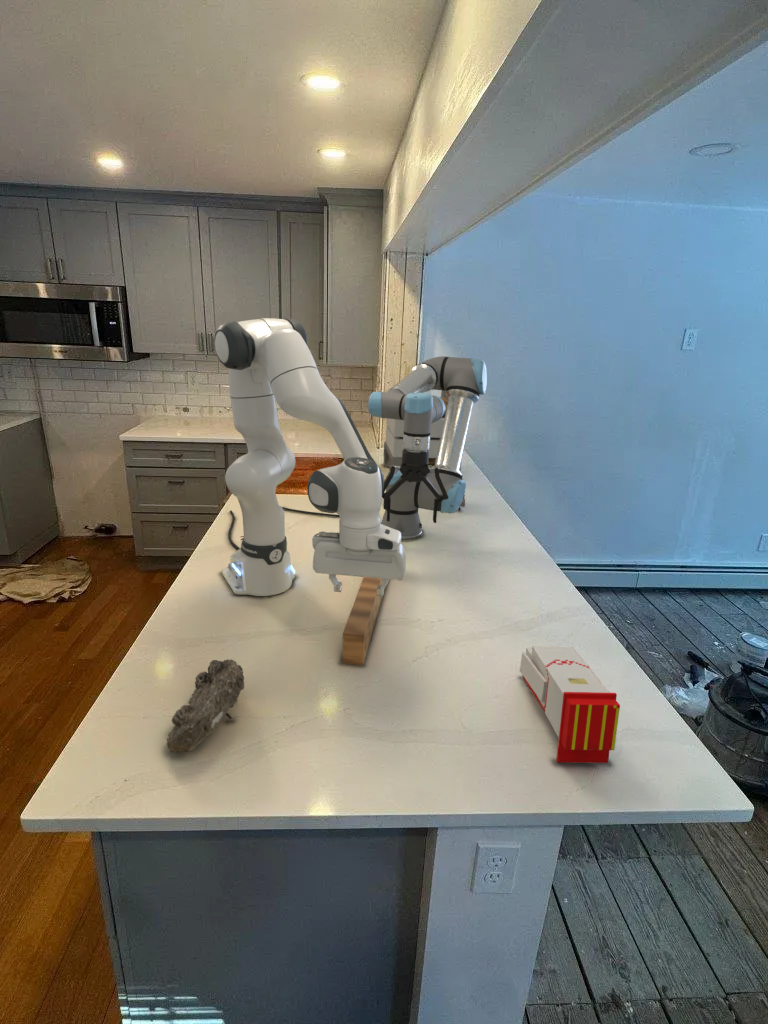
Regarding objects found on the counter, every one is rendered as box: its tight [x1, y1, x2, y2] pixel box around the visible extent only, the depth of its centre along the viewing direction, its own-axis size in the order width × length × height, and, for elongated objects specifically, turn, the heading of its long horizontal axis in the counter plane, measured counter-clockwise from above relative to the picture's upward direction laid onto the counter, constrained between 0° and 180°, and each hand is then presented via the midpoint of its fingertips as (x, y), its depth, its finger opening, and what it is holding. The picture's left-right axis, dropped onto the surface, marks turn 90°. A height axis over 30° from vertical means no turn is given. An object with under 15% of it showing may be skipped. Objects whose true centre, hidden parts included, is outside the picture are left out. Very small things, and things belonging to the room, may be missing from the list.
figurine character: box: [458, 494, 466, 511], centre depth 229 cm, size 7×8×15 cm
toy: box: [519, 645, 621, 764], centre depth 112 cm, size 12×13×30 cm
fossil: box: [166, 658, 245, 754], centre depth 106 cm, size 22×10×15 cm
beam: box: [342, 577, 383, 666], centre depth 149 cm, size 53×5×8 cm, turn 173°
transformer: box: [383, 390, 463, 472], centre depth 268 cm, size 34×33×41 cm
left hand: (359, 592), depth 125 cm, fingers open, 8 cm apart
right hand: (411, 520), depth 166 cm, fingers open, 13 cm apart
